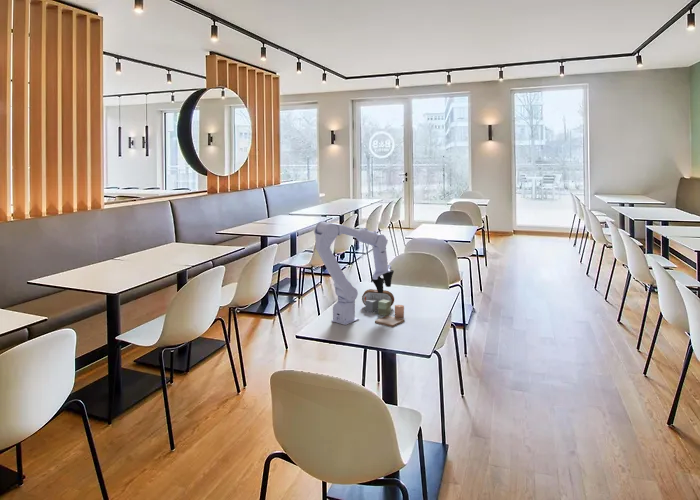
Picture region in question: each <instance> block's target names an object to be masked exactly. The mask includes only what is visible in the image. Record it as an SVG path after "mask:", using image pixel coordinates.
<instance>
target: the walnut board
mask: <svg viewBox="0 0 700 500" xmlns="http://www.w3.org/2000/svg"><path fill="white" fill-rule="evenodd" d="M405 321H406V320H405V319H404V318H401V319H400V318H396V317H395V316H391V315H387V316H383V317H381V318H378V319H376V320H374V323H375V324H379V325H382V326H388V327H391V328H393V327H394V328H395V326H398V325H400V324H402V323H405Z"/></svg>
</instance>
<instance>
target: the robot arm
mask: <svg viewBox="0 0 700 500" xmlns="http://www.w3.org/2000/svg"><path fill="white" fill-rule="evenodd" d="M313 232H314V237H315V242H314V243H315V244H314V245H315V250H316V252H317V253H318V256H319V257H320V259H321V261H322V263H323V265H324V266H325V268H326V270H327V272H328V273H329V275H330V277H331V279H332V280H333V282H334V283H333V287H334V292H335V294H336V296H337V301H336V303H334V305H333V307H332V319H331V322H333V323H337V324H340V325H341V324H342V325H345V326H346V325H349V324H351V323H354V322H356V321H358V320H360V318H359V317H356V315H355V314H356V308H355V307H356V304H355V303H356V299H357V298H358V295H359V293H358V289H357V288H356V287H354V286H353V285H352V283H351V282H350V281H349V280H348V279H347V277H346V276H345V274H344V272H343V270H342V268H341V267H340V264H339V262H338V260H337V259H336V257H335V255H334V253H333V251H332V250H331V245H332V244H333V242H335V240H336V238H337V237H338V236H342V234H343V235H347V236H350V237H353V238H356V241H357V242H359V243H362V244H365V245H370V246H371V248H372V254H373V261H374V268H375V269H374V272H373V274H372V275H371V278H370V280H371V282H372V283H373V284H374V286H375V288H376V290H377V291H378V293H383V290H384V285H385V287H387V288H390V287H391V286H392V278H393V276H394V270H392V269H393V268H392V264H388V255H387V245H388V241H389V240H388V239H387V237H386V236H385V235H384V234H382V233H378V232H377V231H375V230H374V231H372V230H369V228H367V227H363V228H360V229H355V228H352V227H350V226H347V225H345V224H340V223H336V222H327V221H324V220H322V221H319V222H318V223H317V224H316V226H315V228H314V231H313Z"/></svg>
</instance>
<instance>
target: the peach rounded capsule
mask: <svg viewBox="0 0 700 500" xmlns="http://www.w3.org/2000/svg"><path fill="white" fill-rule="evenodd" d="M394 317H396V318H400V319H404V318H405V305H402V304H396V305H394Z"/></svg>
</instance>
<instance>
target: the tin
mask: <svg viewBox="0 0 700 500" xmlns="http://www.w3.org/2000/svg"><path fill="white" fill-rule="evenodd" d="M368 299H375V300H378V301H381V300H383V299H384V300H389V301H391V307H392V306H393V305H394V302H395V296H394V294H393V293H392V291H389V290H384V289H383V293H378V291H377V289H374V288H373V289H370V288H369V289H366V290H365V291H364V292H363V294H362V296H361V300H362V301H361V302H362V303H363V304H364V306H365V307H366V300H368Z"/></svg>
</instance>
